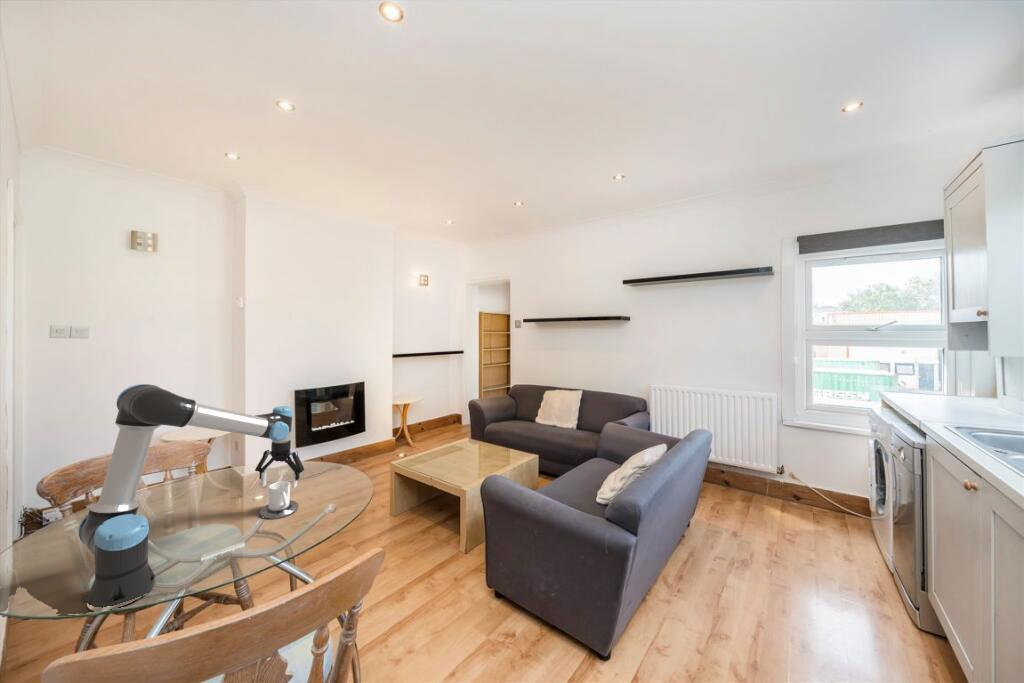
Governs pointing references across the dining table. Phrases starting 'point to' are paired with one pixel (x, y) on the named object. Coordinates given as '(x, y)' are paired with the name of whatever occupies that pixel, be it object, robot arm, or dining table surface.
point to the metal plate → (283, 513)
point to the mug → (279, 496)
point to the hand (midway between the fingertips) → (279, 486)
